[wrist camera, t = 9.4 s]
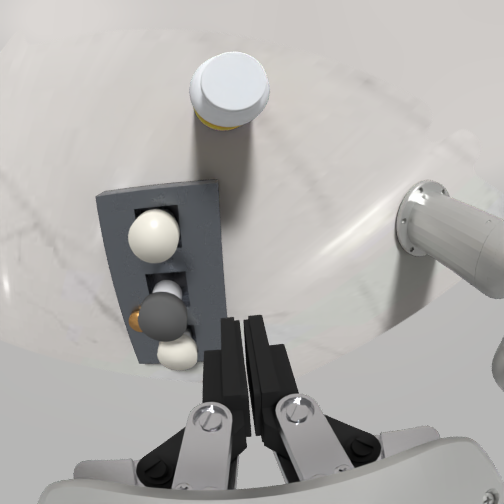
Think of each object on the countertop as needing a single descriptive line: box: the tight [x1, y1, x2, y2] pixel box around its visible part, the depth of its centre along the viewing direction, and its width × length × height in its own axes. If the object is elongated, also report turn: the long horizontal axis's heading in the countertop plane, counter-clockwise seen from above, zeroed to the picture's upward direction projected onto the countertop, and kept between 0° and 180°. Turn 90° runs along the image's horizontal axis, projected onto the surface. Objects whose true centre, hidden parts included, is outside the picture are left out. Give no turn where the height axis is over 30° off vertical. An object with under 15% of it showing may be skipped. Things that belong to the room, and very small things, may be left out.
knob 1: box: [128, 207, 180, 263], centre depth 29 cm, size 5×5×6 cm
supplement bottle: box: [189, 52, 270, 131], centre depth 22 cm, size 7×7×13 cm
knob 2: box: [157, 325, 197, 371], centre depth 36 cm, size 5×5×6 cm
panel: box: [96, 179, 227, 364], centre depth 34 cm, size 25×14×4 cm, turn 1°
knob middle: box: [138, 280, 187, 342], centre depth 30 cm, size 5×5×6 cm
